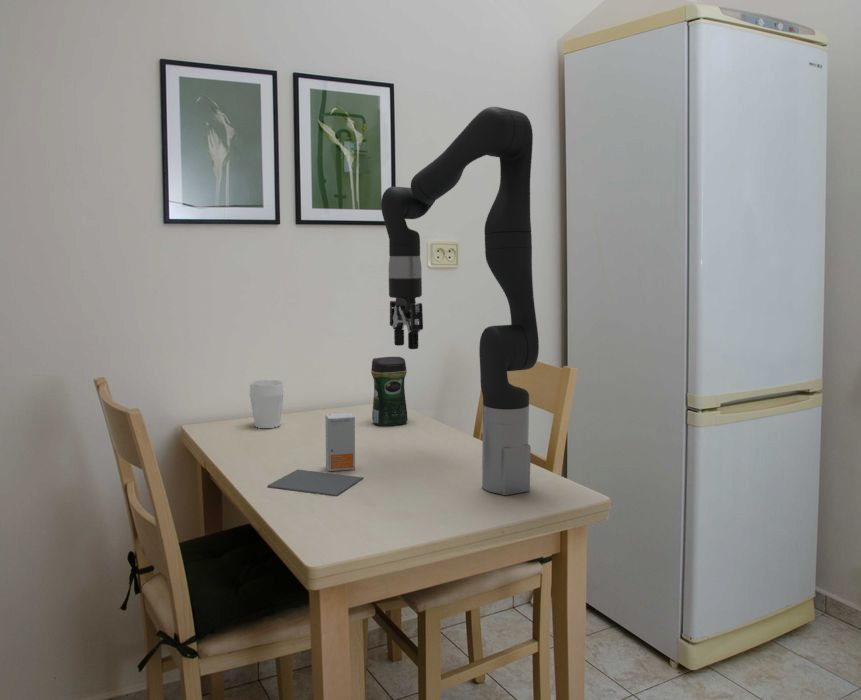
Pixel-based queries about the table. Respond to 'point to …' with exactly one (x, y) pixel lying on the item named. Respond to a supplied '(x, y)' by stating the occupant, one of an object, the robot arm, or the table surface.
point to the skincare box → (340, 442)
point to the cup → (266, 402)
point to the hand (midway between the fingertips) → (406, 347)
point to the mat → (316, 482)
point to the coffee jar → (389, 391)
